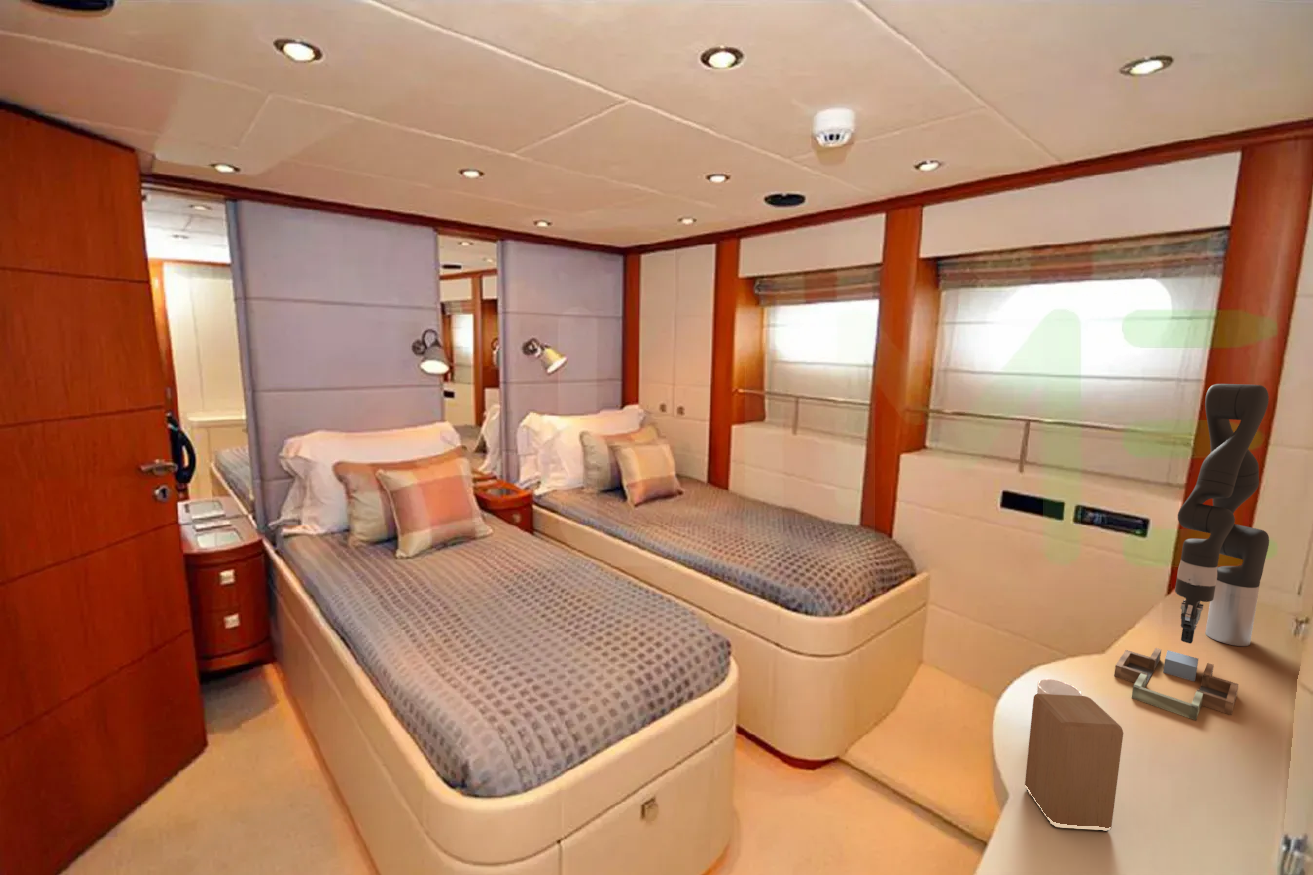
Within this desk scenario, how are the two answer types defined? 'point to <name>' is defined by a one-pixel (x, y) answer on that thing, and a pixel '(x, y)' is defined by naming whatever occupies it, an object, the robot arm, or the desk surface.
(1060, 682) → the white cup
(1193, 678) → the slate block
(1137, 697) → the box
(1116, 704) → the desk surface
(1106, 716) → the wooden block
